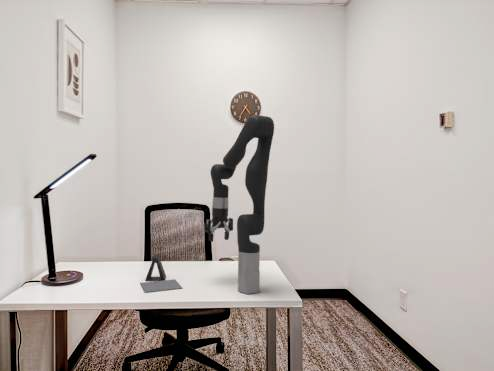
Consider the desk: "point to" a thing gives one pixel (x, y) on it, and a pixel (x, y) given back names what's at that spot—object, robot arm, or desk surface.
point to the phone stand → (160, 269)
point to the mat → (160, 285)
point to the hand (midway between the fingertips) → (218, 240)
